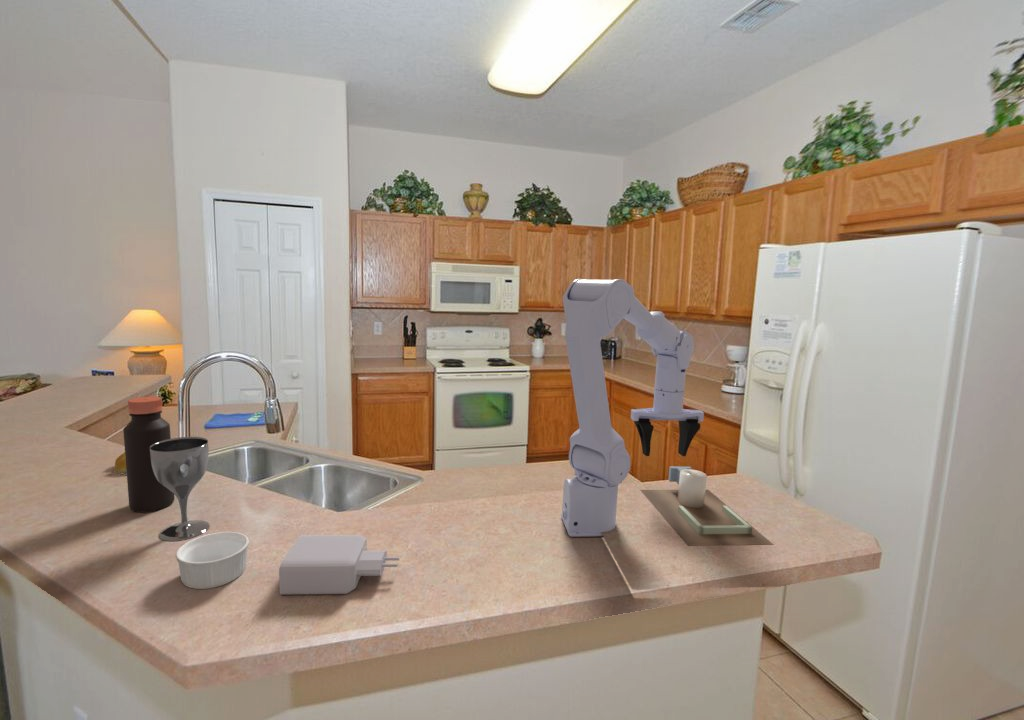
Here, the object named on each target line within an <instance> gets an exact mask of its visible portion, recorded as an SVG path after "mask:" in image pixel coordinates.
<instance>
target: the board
mask: <svg viewBox="0 0 1024 720" xmlns="http://www.w3.org/2000/svg"><path fill="white" fill-rule="evenodd" d="M640 491H641V493H642V494H643V495H644V496H645V498H646V499H647V500H648V501H649V503H651V505H652V506H653V507H654V508H655V509H656V511H657V512H659V514H660V515H661V516H662V517H663V519H664V520H665V521H666V522H667V523H668V524H669V526H670V527H671V528H672V529H673V530H674V531H675V533H676V534H677V535H678V536H679V537H680V538H681V539H682V541H683V542H684V543H685V544H686V546H688V547H689V546H690V547H694V546H695V547H696V546H697V547H698V546H701V547H702V546H705V547H707V546H765V545H766V546H770V545H771V546H774V543H773V542H772V541H770V540H769V539H768V538H766V537H765V535H763V534H762V533H761V532H759V531H758V530H757V529H755V527H754V526H752V525H751V524H750V523H749V522H747V521H746V520H745V519H744V518H743V517H741V516H740V515H739V514H738V513H737V512H735V511H734V509H732V508H731V507H730V506H728V505H727V504H726V503H725V502H724V501H723V500H721V499H720V498H719V497H718V496H717V495H715V494H714V493H713V492H712V491H711V490H709V489H706V490H705V500H704V506H703V507H700V508H692V507H687V506H684V505H682V504H680V503H679V502H678V491H679V489H640ZM678 506H683V507H684V508H685V509H686V510H687V511H688V512H689V513H690V514H691V515H692V516H693V517H694V518H695V519H696V520H697V521H698V522H699V523H700V524H701V525H702V526H716V525H737V524H735V523H734V522H733V521H732V520H731V519H730V518H729V517H728V516H726V515H725V514H724V513H723V512H722V506H727V507H729V508H730V509H731V510H732V511H733V512H735V513H736V514H737V515H738V516H739V517H741V518H742V519H743V520H744V521H745V522H747V523H748V524H749V525H750V526H751V527H752V534H698V533H697V532H696V531H695V529H694V528H693V527H692V526H691V525H690V524H689V523H688V522H687V521H686V520H685V519H684V518H683V517H682V516H681V515H680V514H679V512H678Z"/></svg>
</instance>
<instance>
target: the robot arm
mask: <svg viewBox="0 0 1024 720" xmlns="http://www.w3.org/2000/svg"><path fill="white" fill-rule="evenodd" d="M562 305H563V310H564V316H565V331H564V333H565V334H564V335H565V338H564V339H565V344H566V352H567V356H568V363H569V369H570V370H569V371H570V377H571V383H572V390H573V396H574V401H575V407H576V409H575V410H576V416H577V421H578V427H579V428H578V429H577V430H576V431H574V432H573V433H572V434H571V436H570V437H569V445H570V446H569V452H568V462H569V465H570V467H571V468H572V469H573V470H574V474H573V475H574V476H575V477H572V478H566V479H565V480H564V482H563V490H562V509H561V510H562V511H561V520H562V522H563V524H564V526H565V528H566V531H567V534H568V536H569V537H573V538H575V537H580V538H581V537H604V535H603V533H606V532H610V531H612V530H614V529H615V528H616V523H617V521H616V520H617V510H618V509H617V506H618V493H619V484H622V483H623V481H624V480H626V478H627V477H628V475H629V473H630V469H631V457H630V453H629V451H628V450H627V449H626V445H625V440H624V439H623V437H622V436H621V435H620V434H619V433H618V432H617V431H616V430H615V429H614V428H613V427H612V422H611V414H610V405H609V399H608V392H607V383H606V382H607V381H606V377H605V368H604V362H603V361H604V360H603V353H602V346H601V341H602V339H603V338H604V337H605V336H607V335H608V336H609V335H610V334H611V333H612V332H613V330H614V329H615V328H616V327H617V326H618V324H620V323H621V321H622V320H623V319H624V320H625V321H627V322H628V323H630V324H631V325H632V326H634V327H635V329H636V334H637V336H638V338H640V339H642V340H643V341H644V342H645V343H647V344H648V346H650V348H651V352H652V354H653V356H654V357H656V366H655V378H654V389H653V390H654V391H653V393H654V394H653V405H652V407H648V408H635V409H633V408H631V410H630V419H631V420H632V421H633V422H634V424H635V427H636V428H637V432H638V435H639V439H640V443H641V449H642V450H641V451H642V455H644V456H645V457H650V455H651V443H652V442H651V441H652V436H653V435H652V434H653V430H654V428H655V427H654V425H653V424H652V421H678V429H679V430H678V432H679V435H678V438H679V439H678V445H677V446H678V447H677V448H678V449H677V452H678V454H679V455H680V456H681V457H686V456H687V453H688V450H689V448H690V445H691V443H692V441H693V439H694V438H695V436H696V434H698V432H699V431H700V430H701V423H703V422H704V420H705V419H704V418H705V412H703V411H702V410H701V409H700V410H699V409H686V408H685V409H684V399H685V388H686V378H687V377H686V376H687V375H686V373H687V369H689V367H690V363H691V362H690V361H691V357H692V355H693V353H694V350H695V343H694V337H693V336H692V335H691V334H690V333H689V331H684V330H679V328H677V326H676V324H675V323H673V322H671V321H670V320H669V319H667V318H666V317H665V316H666V314H665V313H664V312H663V311H659V310H658V311H650V310H649V309H647V308H646V306H645V305H644V304H643V303H642V302H641V301H640V300H639V299H638V298H637V297H636V296H635V288H634V286H632V285H630V284H629V283H628V282H627V281H626V280H625V279H623V278H617V279H584V278H576V279H574V280H573V281H572V282H571V283H570V284H569V285H568V287H567V289H566V291H565V292H564V294H563V295H562ZM700 422H701V423H700Z"/></svg>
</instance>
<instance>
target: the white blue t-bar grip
mask: <svg viewBox="0 0 1024 720" xmlns="http://www.w3.org/2000/svg"><path fill="white" fill-rule="evenodd" d="M668 468H669V469H668V479H667V481H669V482H672V483H673V482H674V483H676V484H677V485H678V490H679V491H678V502H679V503H680V504H682V505H684V506H687V507H692V508H700V507H703V506H704V500H705V490H707V489H706V487H707V479H708V478H707V477H708V475H707V474H706V473H704V472H703V471H700V470H697V469H692V467H691V466H678V465H677V466H675V465H674V466H673V465H671V466H669V467H668Z"/></svg>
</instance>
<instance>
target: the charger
mask: <svg viewBox="0 0 1024 720" xmlns="http://www.w3.org/2000/svg"><path fill="white" fill-rule="evenodd" d="M367 549H368V546H367V539H366V537H364V536H363V534H301V535H299V536H298V538H297V540H296V541H295V542H294V544H293V545H292V546H291V548H290V549H289V550H288V552H287V553H286V555H285V556H284V558H283V559H282V561H281V563H280V566H279V569H278V575H279V576H278V577H279V578H278V579H279V580H278V581H279V594H280V595H281V596H283V595H287V596H288V595H340V594H341V595H347V594H349V593H350V592H352V591H354V590H355V589H356V588H357V586H358V584H359V582H360V579H361V576H363V577H365V576H367V577H369V576H377V577H378V576H382V575H383V572H384V569H385V568H398V566H399V565H398V563H387V561H399V560H400V557H399V556H387V555H388V552H387V550H367Z"/></svg>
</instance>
